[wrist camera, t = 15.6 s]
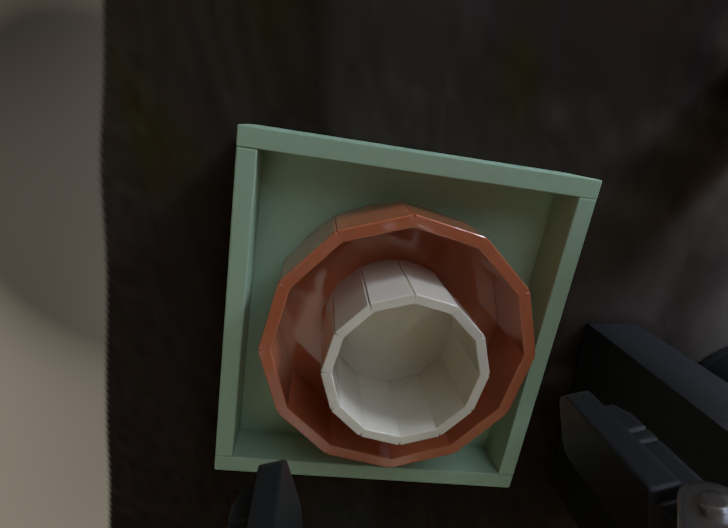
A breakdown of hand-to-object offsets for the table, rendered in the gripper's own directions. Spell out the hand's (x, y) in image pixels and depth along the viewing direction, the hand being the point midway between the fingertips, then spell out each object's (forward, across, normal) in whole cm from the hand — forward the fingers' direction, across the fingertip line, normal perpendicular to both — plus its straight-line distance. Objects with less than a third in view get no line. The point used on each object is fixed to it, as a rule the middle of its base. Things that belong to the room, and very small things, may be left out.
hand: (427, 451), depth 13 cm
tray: (+10, 0, 0) cm, 10 cm away
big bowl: (+9, 0, 0) cm, 9 cm away
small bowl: (+9, 0, 0) cm, 9 cm away
